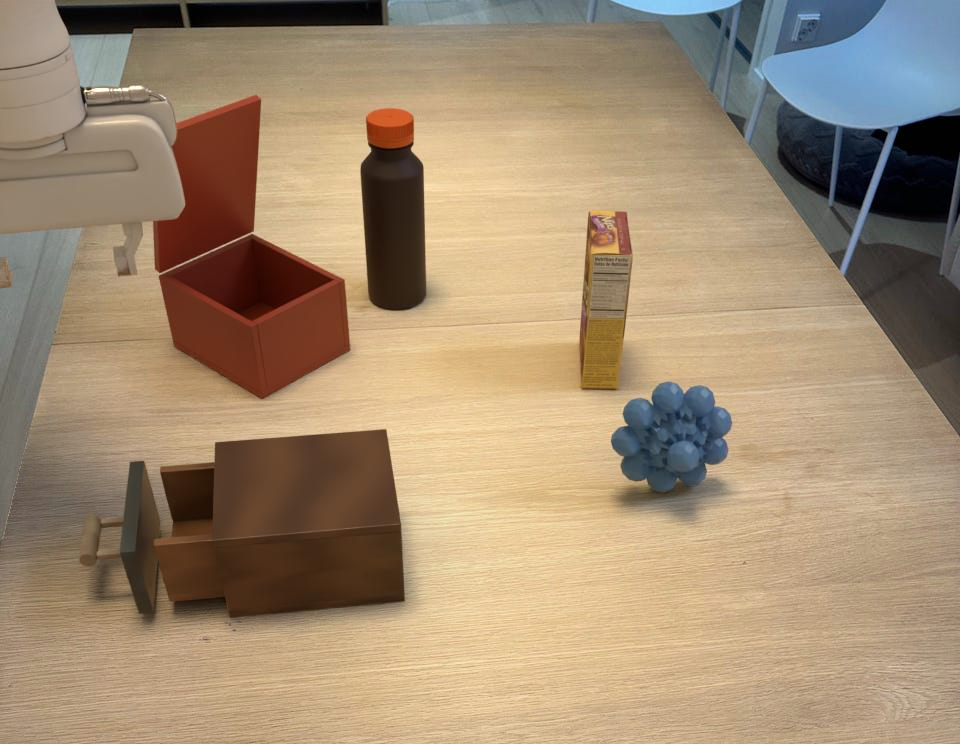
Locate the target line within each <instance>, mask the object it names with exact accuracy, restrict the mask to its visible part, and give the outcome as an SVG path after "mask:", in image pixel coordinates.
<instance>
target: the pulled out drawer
mask: <svg viewBox="0 0 960 744" xmlns="http://www.w3.org/2000/svg"><path fill="white" fill-rule="evenodd" d="M159 474H160V478H161V482H162V486H163V490H164V494H165V497H166V501H167V505H168V510H169V513H170V517H171V521H172V526H171V527H172V529H171V536H170V537H160V535H161V523H162V520H161V518H160V514H159V510H158V506H157V502H156V499H155V496H154V491H153V488H152V485H151V480H150V477H149V473H148V469H147V466H146V462H145V460H136V461H135V460H133V461H129V467H128V474H127V482H126V483H127V484H126V493H125V502H124V509H123V510H124V511H123V516H119V517H106V518H102V517H100V516H99V515H97V514H94V513H93V514H88V515H86V516H85V517H84V520H83V521H84V522H83V527H82V528H83V529H82V535H81V543H80V549H79V556H78V561H79V564H80V565H82V566H84V567H88V568H89V567H94V566H95V565H96V564H97V563H98V561H108V560H110V561H111V560H119V559H120V560H121V562H122V565H123V568H124V572H125V575H126V577H127V581H128V584H129V587H130V590H131V593H132V597H133V601H134V603H135V606H136V610H137V612H138V614H147V613H154V612H155V600H156V599H155V598H156V586H157V574H158V573H157V571H158V565H159V569H160V573H161V577H162V580H163V583H164V587H165V590H166V591H165V592H166V594H167V597H168V601H169V602H170V603H172V602H183V601H194V600H205V599H214V598H225V595H224V591H223V586H222V582H221V577H220V573H219V569H218V564H217V560H216V555H215V551H214V546H213V542H212V532H213V496H214V462H213V461H211V462H200V463H188V464H176V465H163V466H160V467H159ZM109 528H110V529H112V528H121V536H120V544H119V545H120V546H119V548H115V549H104V550H102V549H101V550H99V549H100V543H101V535H102V529H109Z"/></svg>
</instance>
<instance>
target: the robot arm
mask: <svg viewBox="0 0 960 744" xmlns="http://www.w3.org/2000/svg"><path fill="white" fill-rule="evenodd" d="M150 97H153V98H150ZM176 123H177V120H176V114H175V110H174V107H173V105H172V103H171V101H170V100H169V99H168V98H167V97H166V96H165V95H164V94H162V93H161V92H159V91H158V90H154V89H149V86H148V85H147V84H143V83H142V84H141V83H133V84H128V85H126V86H109V85H103V86H102V85H99V86H82V85H81V81H80V77H79V73H78V68H77V64H76V60H75V57H74V52H73V45H72V43H71V37H70V34H69V31H68V29H67V27H66V25H65V23H64V21H63V19H62V17H61V15H60V12H59V10H58V7H57V4H56V0H0V235H8V234H21V233H34V232H45V231H55V230H67V229H78V228H79V229H80V228H90V227H91V228H92V227H102V226H113V225H121V227H122V231H123V235H124V236H126V237H125V240H124V242H123V245H120V246H112V251H113V260H114V264H115V268H116V272H117V277H119V278H121V277H132V276H138V267H137V262H136V257H135V256H136V253H137V251H138V249H139V246H140V243H141V241H142V239H143V236H144V232H143V231H144V230H143V223H148V222H153V221H161V220H172V219H176V218H178V217H179V215H180V214H181V212H182V210H183V209H184V207H185V198H184V193H183V188H182V183H181V179H180V175H179V170H178V167H177V163H176V159H175V156H174V153H173V150H172V146H173V144H174V143H175V141H176V138H177V125H176ZM12 287H13V276H12V273H11V270H10V269H9V263H8V260H7V257H6V256H0V289H8V288H12Z"/></svg>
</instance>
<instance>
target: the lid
mask: <svg viewBox="0 0 960 744" xmlns="http://www.w3.org/2000/svg"><path fill="white" fill-rule="evenodd" d="M261 110H262V98H261V97H259V96H258V94H254V95H251V96H248V97H246V98H243V99H239V100H237V101H234V102H232V103H229V104H226V105H223V106H220V107H218V108H215V109H213V110H209V111H207V112H204V113H201V114H198V115H196V116H193V117H190V118H188V119H184V120H181V121H179V122H176V125H177V138H176V141H175V143H174V144H173V146H172V150H173V153H174V156H175V159H176V163H177V167H178V170H179V175H180V179H181V183H182V188H183V193H184V198H185V207H184V209H183V210H182V212H181V214H180V215H179V217H178V218H176V219H172V220H161V221H152V231H153V256H154V257H153V258H154V259H153V260H154V270H155V271H156V272H157V273H158V274H163V273H165V272H167V271H170V270H172V269H174V268H176V267H178V266H181V265H183V264H185V263H187V262H190V261H192V260H194V259H196V258H199V257H201V256H203V255H205V254H208V253H210V252H212V251H214V250H216V249H219V248H221V247H223V246H225V245H228V244H230V243H232V242H234V241H237V240H239V239H241V238H243V237H246V236H248V235H250V234H252V233H253V232H255V220H256V217H255V216H256V200H257V182H258V164H259V149H260V148H259V147H260V132H261V131H260V130H261V129H260V128H261V113H262V111H261Z"/></svg>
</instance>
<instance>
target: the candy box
mask: <svg viewBox="0 0 960 744" xmlns="http://www.w3.org/2000/svg"><path fill="white" fill-rule="evenodd" d="M585 240H586V242H585V257H584V271H583V284H582V295H581V297H582V299H581V309H580V310H581V313H580V325H579V326H580V327H579V339H578V341H579V343H578V344H579V358H580V359H579V361H580V389H588V390H589V389H592V390H593V389H594V390H618V389H619V382H620V373H621V368H622V367H621V366H622V357H623V347H624V340H625V330H626V322H627V313H628V312H627V311H628V304H629V296H630V295H629V294H630V287H631V277H632V269H633V262H634V261H633V260H634V252H633V247H632V240H631V233H630V227H629V221H628V212H627V211H619V210H618V211H616V210H592V211H591V210H589V212H588V214H587V226H586V239H585Z"/></svg>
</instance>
